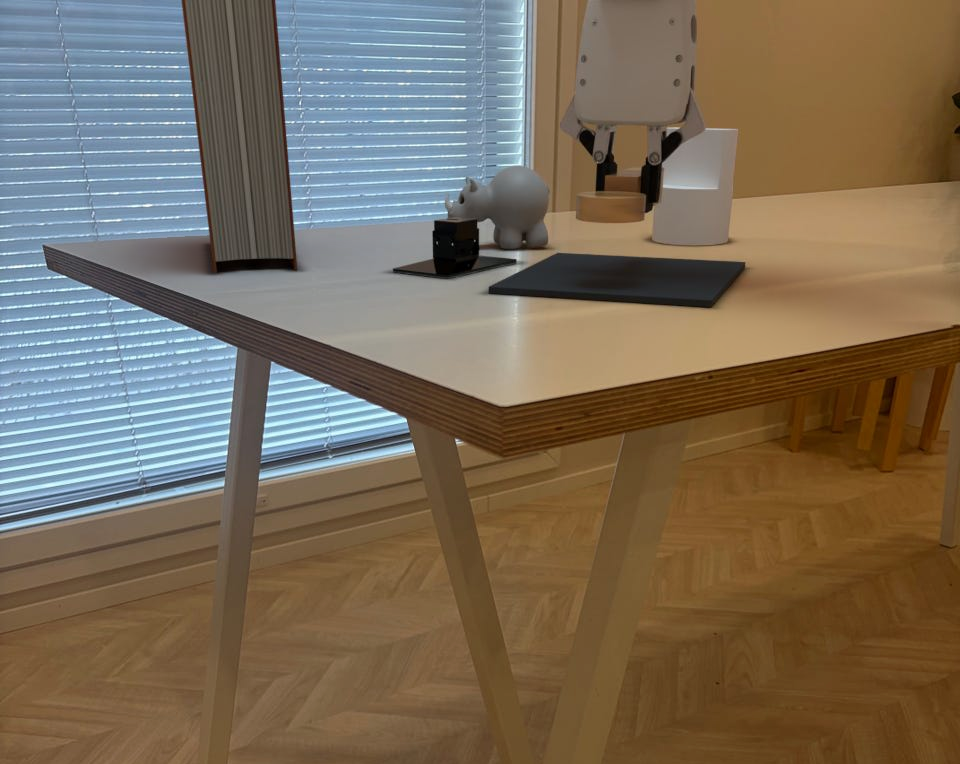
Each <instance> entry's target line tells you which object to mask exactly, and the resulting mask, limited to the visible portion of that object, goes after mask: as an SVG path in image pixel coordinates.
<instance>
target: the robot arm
mask: <svg viewBox="0 0 960 764" xmlns="http://www.w3.org/2000/svg"><path fill="white" fill-rule="evenodd" d="M696 5H697V3H696V0H587V4H586V8H585V12H584V18H583V23H582V27H581V28H582V29H581V35H580V42H579V49H578V57H577V65H576V72H575V73H576V75H575V86H574V95H573V97H572V99H571V101H570V103H569V104H568V107H567V109H566V111H565V113H564V115H563V117H562V119H561V121H560V123H559V128H560V130H561V131H562V132H564V133H565V134H567V135H569V136H570V137H571V138H573V139H575V140H576V141H578V142H579V143H580V144H581V145H582V146H583V147H584V149H585V150H586V151H587V153H589V155H590V156H591V157H592V161H593V162H594V163H595V164H596V172H595V191H604V190H605V176H606V175H610V174H613V173H616V172H618V163H617V161H615V155H614V148H615V142H616V141H615V140H616V134H617V127H618V126H641V127H643V126H644V127H645V126H647V128H646V130H647V133H646V134H647V156H646V157H645V164H643V165H642V166H641V167H642V168H641V189H640V193H642V194H645V195H646V204H645V214H647V213H648V214H649V213H650V212H651V211H653V210H654V206H653V203H658V201H659V196H660V184H661V171H662V163H663V162H665V160H666V159H667V158H668V157H669V156H670V155H671V154H672V153H673V152H674V151H675V150H676V149H677V148H678V147H679V146H680V145H681V144H683V143H684V142H686V141H688V140H690V139H692V138H694V137H696V136H697V135H699V134H701V133H703V132H704V131H705V129H706V128H707V124H706V121H705V119H704V115H703V114H702V110H701V108H700V105H699V103H698V100H697V97H696V79H697V78H696V76H697V55H698V54H697V50H698V22H697V21H698V20H697V6H696ZM684 122H685V123H684ZM681 123H684V124H683V126H681V127H679V129H677V130H676V131H674V132H672V133H670V134H669V135H668V136H667V128H668V126H671V125H676V124H681ZM585 124H589V125H595V127H596V128H595V130H593V129H591V128H589V127H588V126H586V125H585Z"/></svg>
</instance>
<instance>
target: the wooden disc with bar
mask: <svg viewBox="0 0 960 764" xmlns="http://www.w3.org/2000/svg"><path fill="white" fill-rule="evenodd" d="M641 168H642V166H632V167H629V168H626V169H623V170H620V171H619V170H618V171H617V172H616V173H613V174H610V175H606V176H605V190H604V191H594V190H593V191H582V192H578V193H576V204H575V205H576V207H575V219H576V220H577V221H581V222H586V223H596V224H597V223H599V224H629V223H631V224H632V223H640V222H643V221H645V218H646V217H645V216H646V213H645V204H646V195H645V194H642V193H640V189H641ZM663 176H664V167H662V171H661V184H660V196H659V201H658V203H653V207H654V206H655V205H657V204H659V203H661V201H662V188H663Z"/></svg>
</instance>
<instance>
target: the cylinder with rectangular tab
mask: <svg viewBox="0 0 960 764" xmlns="http://www.w3.org/2000/svg"><path fill="white" fill-rule="evenodd" d="M679 128H680V127H678V126H677V127H667V136H668V135H669V134H670V133H672V132H674V131H676V130H677V129H679ZM738 136H739V128H716V127H715V128H711V127H709V128H708V127H706V129H705V131H704V132H703V133H701V134H699V135H697V136H696V137H694V138H692V139H690V140H688V141H686V142H684V143H683V144H681V145H680V146H679V147H678V148H677V149H676V150H675V151H674V152H673V153H672V154H671V155H670V156H669V157H668V158H667V159H666V160H665V162H663V163H662V167H664V176H663V188H662V201H661V203H659V204H657V205H655V206H653V216H652V217H653V218H652V233H651V241H653V242H654V243H657V244H658V243H659V244H666V245H674V246H714V245H715V246H716V245H723V244H726V243H728V242H729V235H730V224H731V216H732V215H731V214H732V206H733V196H734V195H733V194H734V177H735V168H736V167H735V166H736V159H737V149H738V148H737V147H738V138H739V137H738Z"/></svg>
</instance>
